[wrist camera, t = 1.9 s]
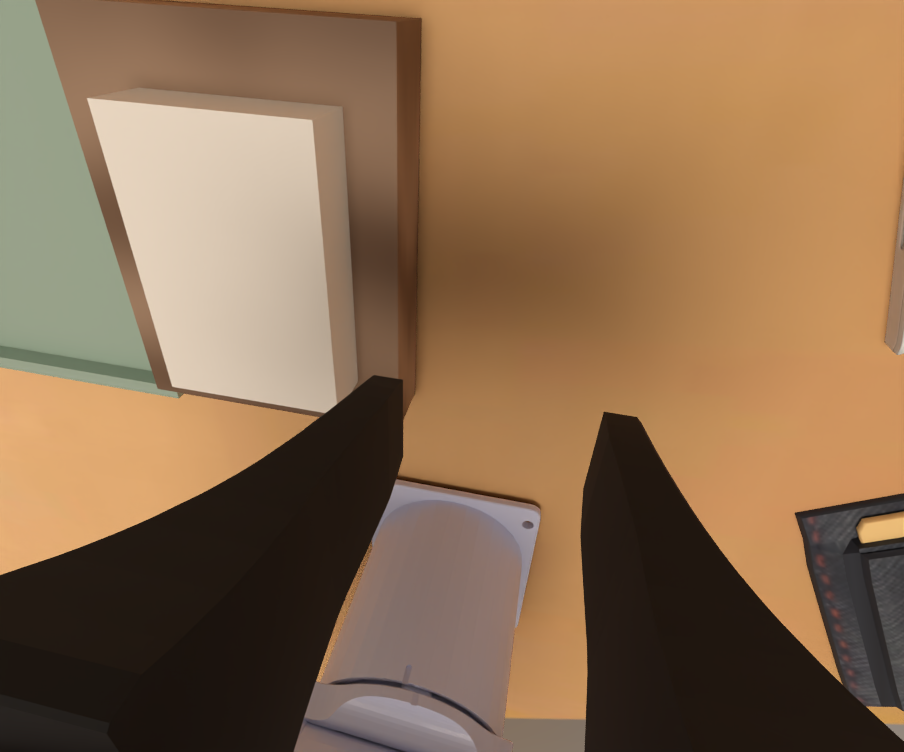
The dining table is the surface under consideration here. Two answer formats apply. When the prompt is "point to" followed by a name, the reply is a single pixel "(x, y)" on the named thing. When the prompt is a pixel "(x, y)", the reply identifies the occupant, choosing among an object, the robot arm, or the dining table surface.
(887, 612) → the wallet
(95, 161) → the deck
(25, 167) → the tray
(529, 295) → the dining table surface
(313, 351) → the tile
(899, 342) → the hard drive
